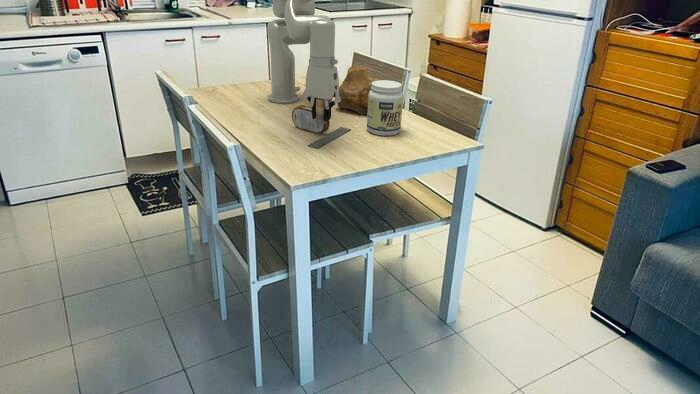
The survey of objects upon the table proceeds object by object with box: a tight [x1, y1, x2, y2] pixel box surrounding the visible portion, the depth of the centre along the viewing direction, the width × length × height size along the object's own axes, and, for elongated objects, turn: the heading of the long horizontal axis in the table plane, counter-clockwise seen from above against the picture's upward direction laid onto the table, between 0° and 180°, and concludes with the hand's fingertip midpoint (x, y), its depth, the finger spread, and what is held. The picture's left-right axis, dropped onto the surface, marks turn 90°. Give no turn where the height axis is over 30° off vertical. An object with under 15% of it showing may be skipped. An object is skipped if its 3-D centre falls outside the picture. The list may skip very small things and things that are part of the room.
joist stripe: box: [307, 126, 352, 150], centre depth 180 cm, size 22×4×1 cm, turn 152°
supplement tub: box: [366, 79, 404, 137], centre depth 185 cm, size 12×12×17 cm
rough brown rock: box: [337, 66, 381, 116], centre depth 208 cm, size 23×17×15 cm
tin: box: [291, 104, 331, 135], centre depth 184 cm, size 15×3×8 cm, turn 55°
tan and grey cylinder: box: [316, 98, 327, 124], centre depth 170 cm, size 4×4×8 cm
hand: (321, 118), depth 171 cm, fingers closed on tan and grey cylinder, 3 cm apart
